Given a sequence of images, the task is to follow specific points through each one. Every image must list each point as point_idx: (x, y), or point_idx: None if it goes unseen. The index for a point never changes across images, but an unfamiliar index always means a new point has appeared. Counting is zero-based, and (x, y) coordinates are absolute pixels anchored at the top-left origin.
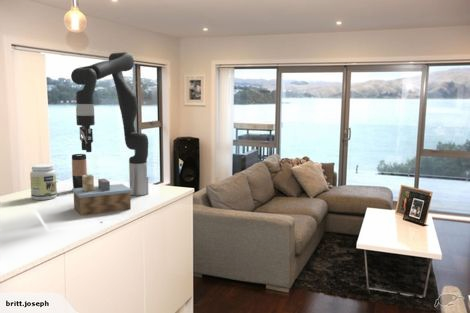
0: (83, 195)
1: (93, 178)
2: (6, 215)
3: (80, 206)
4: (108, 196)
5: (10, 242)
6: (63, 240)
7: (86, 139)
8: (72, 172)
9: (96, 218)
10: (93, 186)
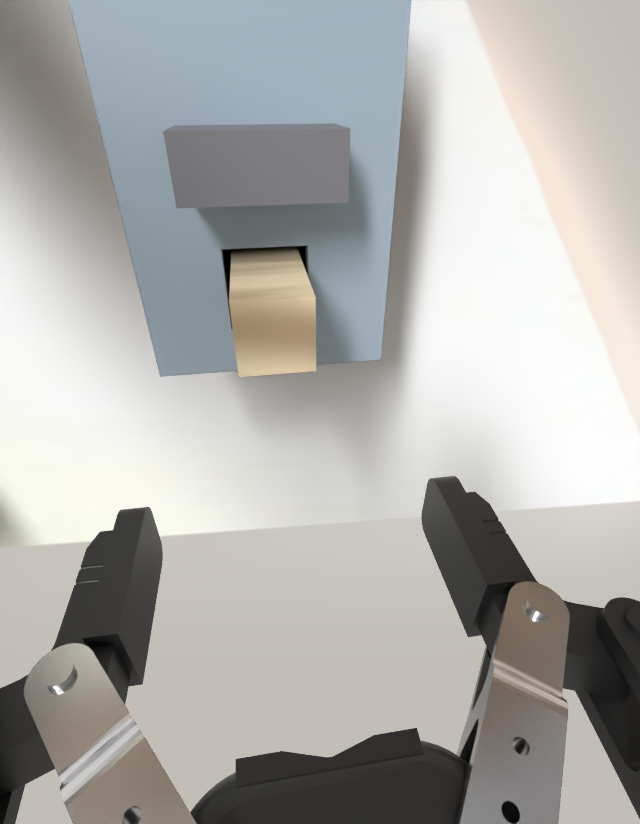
0: (381, 335)
1: (312, 289)
2: (174, 530)
3: None
4: None
5: (489, 502)
6: (582, 390)
7: (591, 716)
8: None
9: (397, 231)
10: (302, 268)
